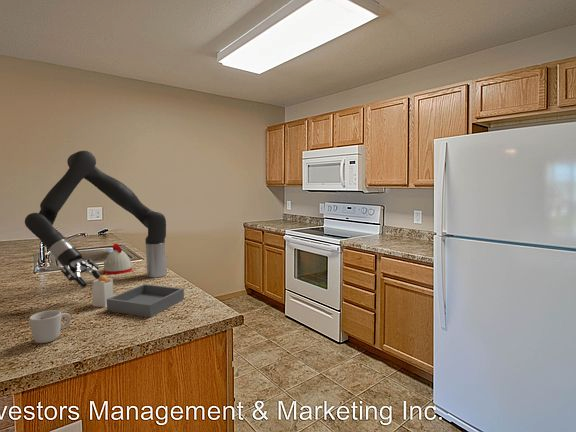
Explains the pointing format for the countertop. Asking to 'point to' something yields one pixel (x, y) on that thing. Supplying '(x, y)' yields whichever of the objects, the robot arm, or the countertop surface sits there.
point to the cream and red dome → (117, 262)
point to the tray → (145, 300)
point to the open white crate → (102, 292)
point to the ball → (103, 278)
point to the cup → (47, 325)
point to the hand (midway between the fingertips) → (93, 282)
